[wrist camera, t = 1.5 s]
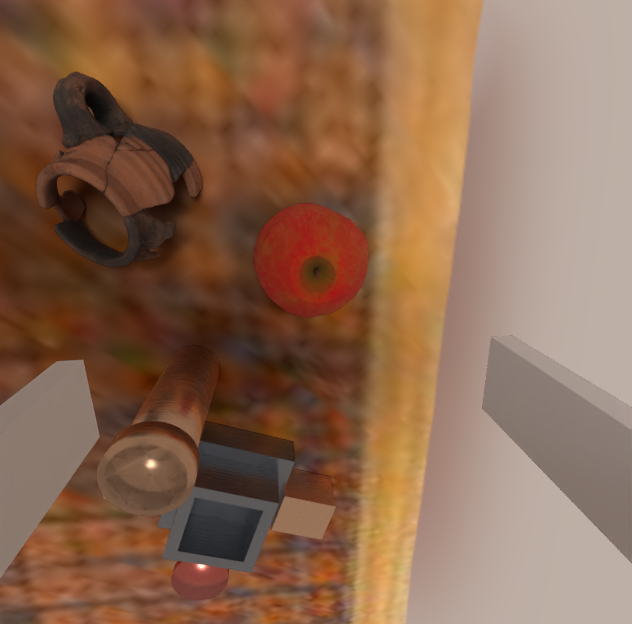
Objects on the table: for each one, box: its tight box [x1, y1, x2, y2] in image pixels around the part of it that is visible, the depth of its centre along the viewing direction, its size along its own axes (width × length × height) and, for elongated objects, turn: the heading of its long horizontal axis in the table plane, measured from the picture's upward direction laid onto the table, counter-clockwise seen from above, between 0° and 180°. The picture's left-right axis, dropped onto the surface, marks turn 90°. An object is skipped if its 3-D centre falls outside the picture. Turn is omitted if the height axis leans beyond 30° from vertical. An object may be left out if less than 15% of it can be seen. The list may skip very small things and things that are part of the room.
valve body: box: [103, 421, 336, 600], centre depth 36 cm, size 20×15×7 cm
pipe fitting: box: [97, 345, 220, 516], centre depth 28 cm, size 5×5×14 cm
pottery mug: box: [36, 72, 203, 267], centre depth 27 cm, size 12×10×8 cm
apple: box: [253, 203, 369, 318], centre depth 28 cm, size 8×8×11 cm
